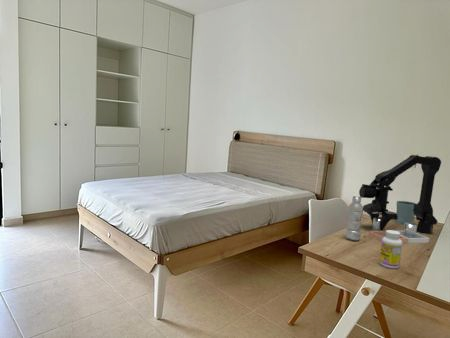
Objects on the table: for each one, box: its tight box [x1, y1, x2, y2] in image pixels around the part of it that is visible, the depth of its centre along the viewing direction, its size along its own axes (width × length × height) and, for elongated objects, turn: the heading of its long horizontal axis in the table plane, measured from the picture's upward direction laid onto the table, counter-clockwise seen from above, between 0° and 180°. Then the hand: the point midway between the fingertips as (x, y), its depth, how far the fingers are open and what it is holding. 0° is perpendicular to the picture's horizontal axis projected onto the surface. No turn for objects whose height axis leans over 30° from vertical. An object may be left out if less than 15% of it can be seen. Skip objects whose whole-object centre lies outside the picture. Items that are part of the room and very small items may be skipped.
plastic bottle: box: [345, 196, 364, 241], centre depth 143 cm, size 6×7×20 cm
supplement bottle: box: [379, 229, 403, 269], centre depth 116 cm, size 7×7×13 cm
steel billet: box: [371, 216, 384, 231], centre depth 160 cm, size 5×5×7 cm
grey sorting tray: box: [367, 230, 431, 245], centre depth 146 cm, size 24×12×3 cm, turn 103°
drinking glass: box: [395, 200, 417, 225], centre depth 181 cm, size 10×10×12 cm
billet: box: [403, 223, 418, 238], centre depth 147 cm, size 5×5×7 cm
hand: (377, 228), depth 160 cm, fingers closed on steel billet, 5 cm apart
